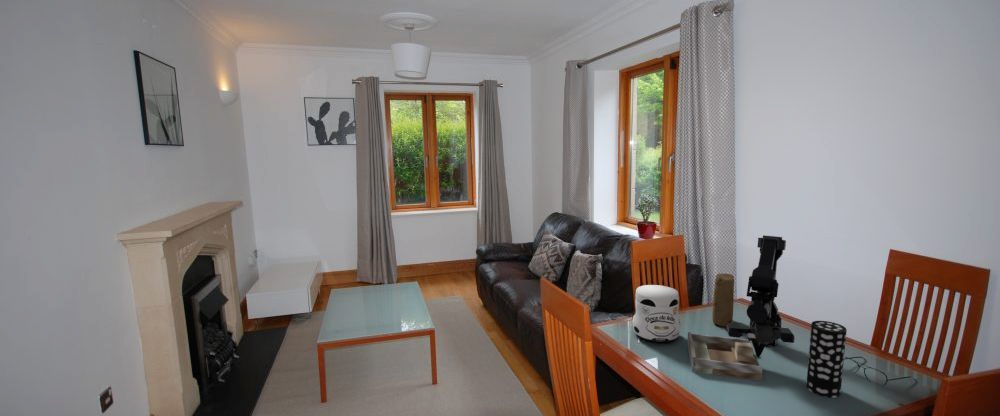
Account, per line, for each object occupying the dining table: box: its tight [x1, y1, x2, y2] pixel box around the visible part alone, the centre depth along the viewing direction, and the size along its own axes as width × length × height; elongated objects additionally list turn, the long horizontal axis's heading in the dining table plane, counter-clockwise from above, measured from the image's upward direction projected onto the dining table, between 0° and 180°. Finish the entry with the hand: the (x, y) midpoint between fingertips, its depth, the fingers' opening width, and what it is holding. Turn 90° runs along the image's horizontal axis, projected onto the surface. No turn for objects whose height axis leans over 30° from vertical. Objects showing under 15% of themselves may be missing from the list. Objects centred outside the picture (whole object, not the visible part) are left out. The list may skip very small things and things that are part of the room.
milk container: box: [632, 284, 681, 343], centre depth 173 cm, size 17×17×18 cm
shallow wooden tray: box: [687, 331, 763, 381], centre depth 153 cm, size 20×20×5 cm
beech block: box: [735, 342, 754, 362], centre depth 151 cm, size 4×4×4 cm
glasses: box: [844, 356, 911, 387], centre depth 144 cm, size 14×15×5 cm
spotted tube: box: [805, 320, 847, 399], centre depth 133 cm, size 8×8×20 cm
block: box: [711, 273, 735, 327], centre depth 184 cm, size 11×8×20 cm
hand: (757, 357), depth 150 cm, fingers closed
